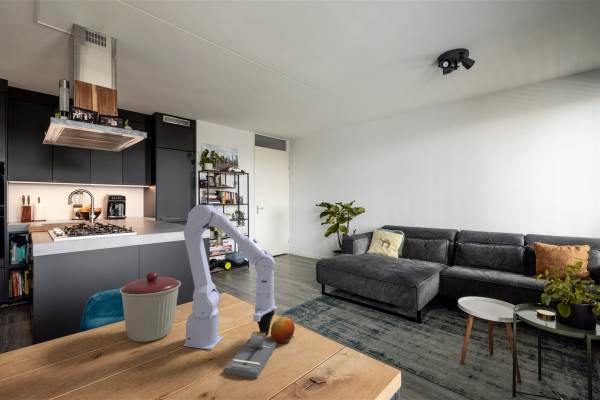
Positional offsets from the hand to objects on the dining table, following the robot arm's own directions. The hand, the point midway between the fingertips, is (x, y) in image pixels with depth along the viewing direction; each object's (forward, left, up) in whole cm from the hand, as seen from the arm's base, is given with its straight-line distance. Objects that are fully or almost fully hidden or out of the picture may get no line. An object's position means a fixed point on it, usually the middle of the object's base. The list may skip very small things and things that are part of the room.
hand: (264, 334), depth 86 cm
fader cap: (0, -5, -1) cm, 5 cm away
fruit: (+5, +4, -3) cm, 7 cm away
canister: (-39, -4, -3) cm, 39 cm away
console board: (0, -9, -2) cm, 10 cm away
